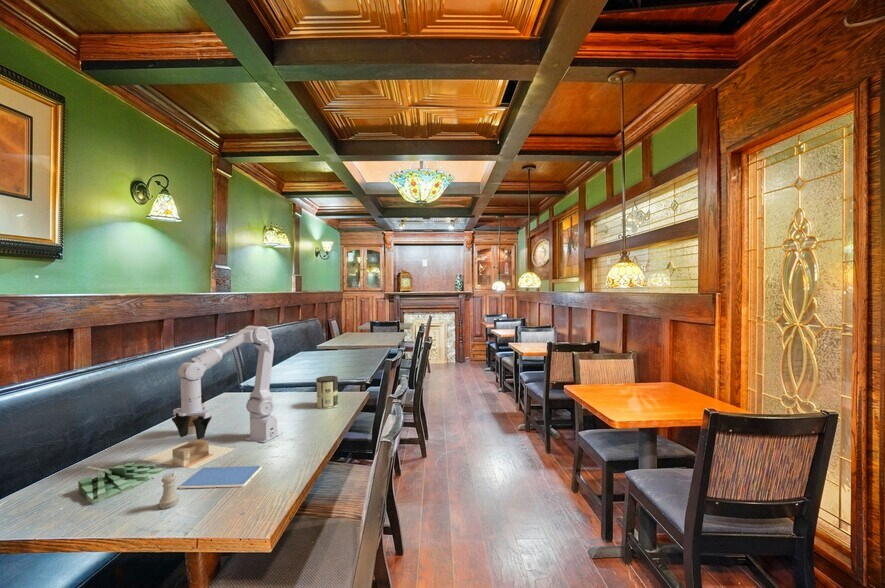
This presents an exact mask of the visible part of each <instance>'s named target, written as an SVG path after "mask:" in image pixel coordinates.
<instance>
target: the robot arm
mask: <svg viewBox="0 0 885 588" xmlns="http://www.w3.org/2000/svg"><path fill="white" fill-rule="evenodd" d="M272 335H273V333H272V331H271V330H270V329H269V328H267V327H266V326H257V325H247V326H245V327H244V328H242V329H239V331H238V332H236V334H234V335H233V336H231V337H229V338H228V339H227V340H225V341H224V342H223V343H221V344H219V346H217V347H210V348H205V349H204V350H203V352H202V353H201V354H199V355H197V356H195V357H192V358H191V359H190V361H186V362H183V363H181V365H180V367H178V369H177V370H176V374H177V376H178V377H179V378H180V407H178V408H175V409H173V410H172V411H173V412H172V415H173V416H174V417H171V421H172V422H173V423H174V425H175V426H176V429H177V431H178V434H179V437H180V438H184V437H186V436H188V435H189V434H188V424H189V419H190V416H193V417H198V418H197V419H194V420H192V422H193V423H194V426H195V429H196V434H195V435H196V440H197V439H198V440H203V439H204V438H205V435H206V431H207V428H208V426H209V423H210V422H211V419H212V415H211V410H207V409H206V408H205V409H202V407H201V395H202V382H201V381H202V379H201V378H203V376H204V373H205V372H206V371H208V370H209V369H211V368H212V367H214V366H216V364H218V363H220V362H221V361H222V359H223V356H224V355H226V354H227V353H229V352H230V351H232V350H234V349H235V348H237V347H238V346H240V345H242V344H252V345H253V346H254V347H255V348H256V349H257V350H258V356H257V362H256V363H257V364H256V369H255V370H256V372H255V378H254V386H253V390H252V391H251V392H250V394H249V398H248V400H247V402H246V405H245V408H246V410H247V412H248V413H249V435H250V436H248V437H246V438H244V440H246V441H253V442H258V443H267V442H269V441H270V440H273V439H274V438H276V437H278V436H279V435H280V434H279V433H278V420H277V417H276V416H273V415H272V412H273V410H274V401H273V394H272V393H271V391H270V384H271V377H272V370H273V361H274V351H275V343H274V341H273V338H272Z"/></svg>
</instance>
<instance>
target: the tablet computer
mask: <svg viewBox="0 0 885 588" xmlns="http://www.w3.org/2000/svg"><path fill="white" fill-rule="evenodd" d="M262 469H263V467H262V466H261V465H251V466H250V465H246V466H245V465H244V466H222V467H221V466H217V467H216V466H214V467H213V466H211V467H202V468H200V469H199V470H197V472H195V473H194V474H193V475H191V476H190V477H188V478H187V479H186V480H185V481H183V482H182V483H181V484H180V485H178V487H177V489H181V490H182V489H214V488H216V487H218V488H219V487H220V488H244V487H246V486H247V485H248V483H250V482H251V481H252V480H253V478H255V477H256V475H257V474H258V473H259V472H260V471H261V470H262ZM218 488H216V489H218Z"/></svg>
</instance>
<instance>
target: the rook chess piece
mask: <svg viewBox="0 0 885 588" xmlns="http://www.w3.org/2000/svg"><path fill="white" fill-rule="evenodd" d="M176 478H177V476H176V475H175V473H174V472H173V473H172V472H170V473H169V474H168V473H166V474H165V475H163V476H162V479H161V483H163V484H162V488H163V489H162V490H163V491H162V496H161V497H160V499H159V501H158V502H159V505H158V507H159V508H160V509H162V510H165V509H170V508H173V507H175V506H176V505H177V504H178V503H179V502H180V499H179V497H180V496H179V495H178V493H177V492H176V489H175V484H176V482H175V480H176Z"/></svg>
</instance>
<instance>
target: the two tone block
mask: <svg viewBox="0 0 885 588" xmlns="http://www.w3.org/2000/svg"><path fill="white" fill-rule="evenodd" d="M189 442H190V441H189ZM209 445H210V444H209V440H205V439H199V440H198V439H197V438H196V439H195V440H193V441H191V442H190V443H188V444H185V445H183V446H180V447H178V448H175V449H173V450H172V453H173V465H172V466H174V465H177V466H176V467H180V466H183V467H182V468H185V467H184V466H186V465H189V464H191V463H193V462H195V461H197V460H199V459H202V458H204V457H206V456H208V455H209Z"/></svg>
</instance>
